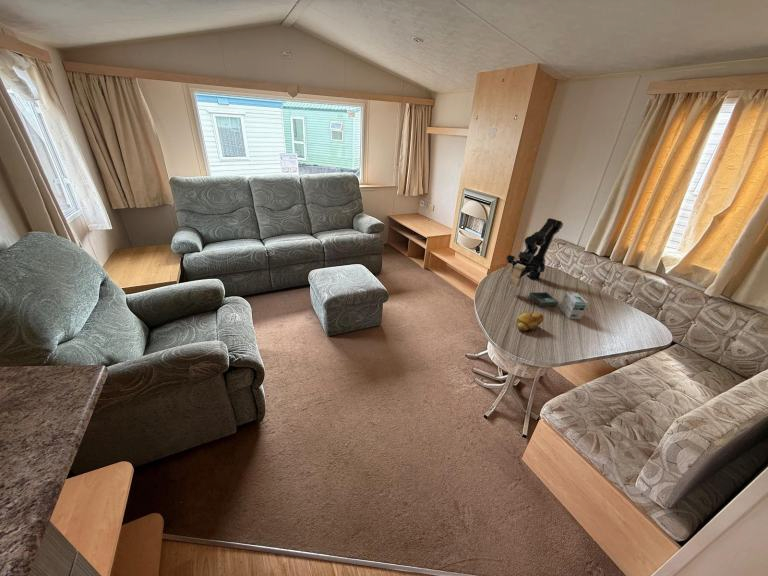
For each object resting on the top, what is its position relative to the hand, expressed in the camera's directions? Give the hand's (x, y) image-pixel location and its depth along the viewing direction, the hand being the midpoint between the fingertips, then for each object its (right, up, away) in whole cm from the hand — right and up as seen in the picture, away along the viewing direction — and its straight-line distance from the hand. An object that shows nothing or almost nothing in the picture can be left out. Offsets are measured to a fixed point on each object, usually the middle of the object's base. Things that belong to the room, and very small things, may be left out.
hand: (515, 275), depth 178 cm
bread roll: (-5, -27, -23) cm, 35 cm away
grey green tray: (+16, -15, +1) cm, 22 cm away
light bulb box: (+25, -21, -9) cm, 34 cm away
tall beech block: (+1, -5, +4) cm, 7 cm away
